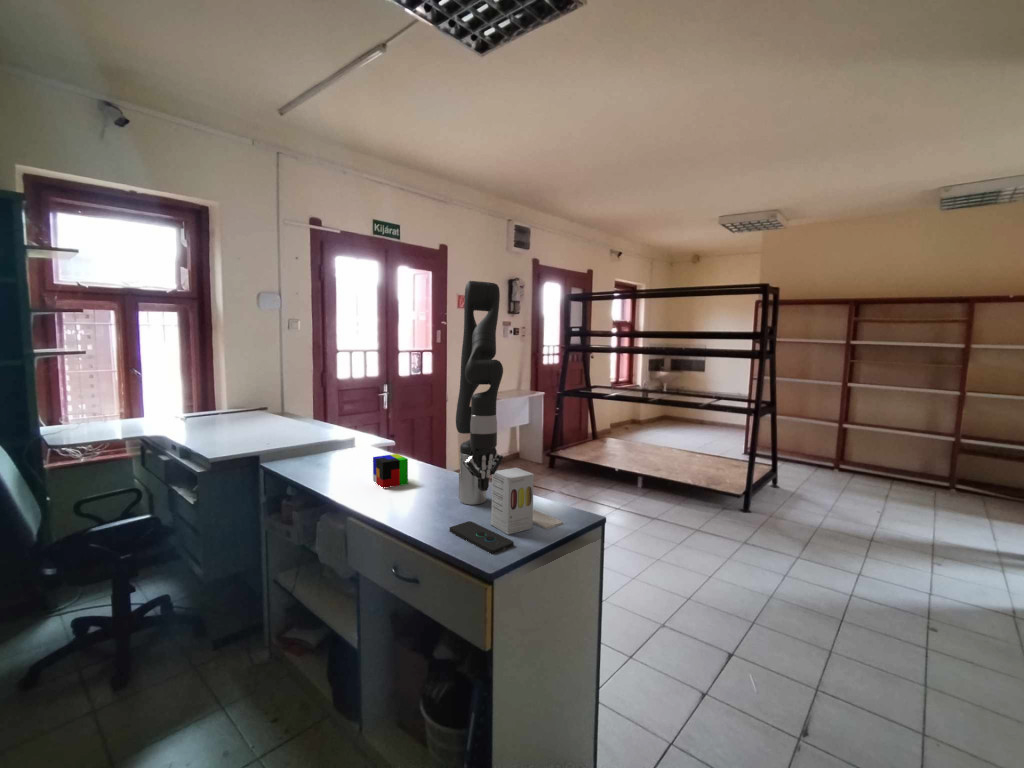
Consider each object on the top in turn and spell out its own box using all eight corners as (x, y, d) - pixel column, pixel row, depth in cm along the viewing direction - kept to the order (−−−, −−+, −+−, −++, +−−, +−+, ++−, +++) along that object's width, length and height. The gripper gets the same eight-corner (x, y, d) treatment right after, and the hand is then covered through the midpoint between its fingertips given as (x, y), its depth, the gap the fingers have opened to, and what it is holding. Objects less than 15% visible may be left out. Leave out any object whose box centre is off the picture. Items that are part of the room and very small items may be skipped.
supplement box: (507, 535, 136) (508, 478, 134) (490, 525, 143) (490, 471, 142) (533, 528, 141) (534, 473, 140) (515, 518, 149) (516, 466, 147)
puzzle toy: (373, 482, 184) (372, 457, 183) (397, 477, 190) (397, 453, 189) (382, 488, 176) (382, 462, 175) (407, 484, 182) (407, 458, 181)
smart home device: (491, 550, 123) (448, 527, 138) (491, 556, 123) (448, 532, 138) (515, 541, 129) (470, 520, 144) (515, 547, 129) (470, 525, 144)
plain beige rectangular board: (512, 513, 153) (512, 511, 153) (528, 509, 157) (528, 507, 157) (546, 529, 141) (546, 527, 141) (563, 523, 145) (563, 521, 145)
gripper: (494, 425, 140) (493, 483, 141) (456, 430, 131) (456, 491, 133) (510, 429, 134) (509, 489, 135) (472, 435, 125) (471, 498, 127)
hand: (483, 490), depth 134 cm, fingers closed
